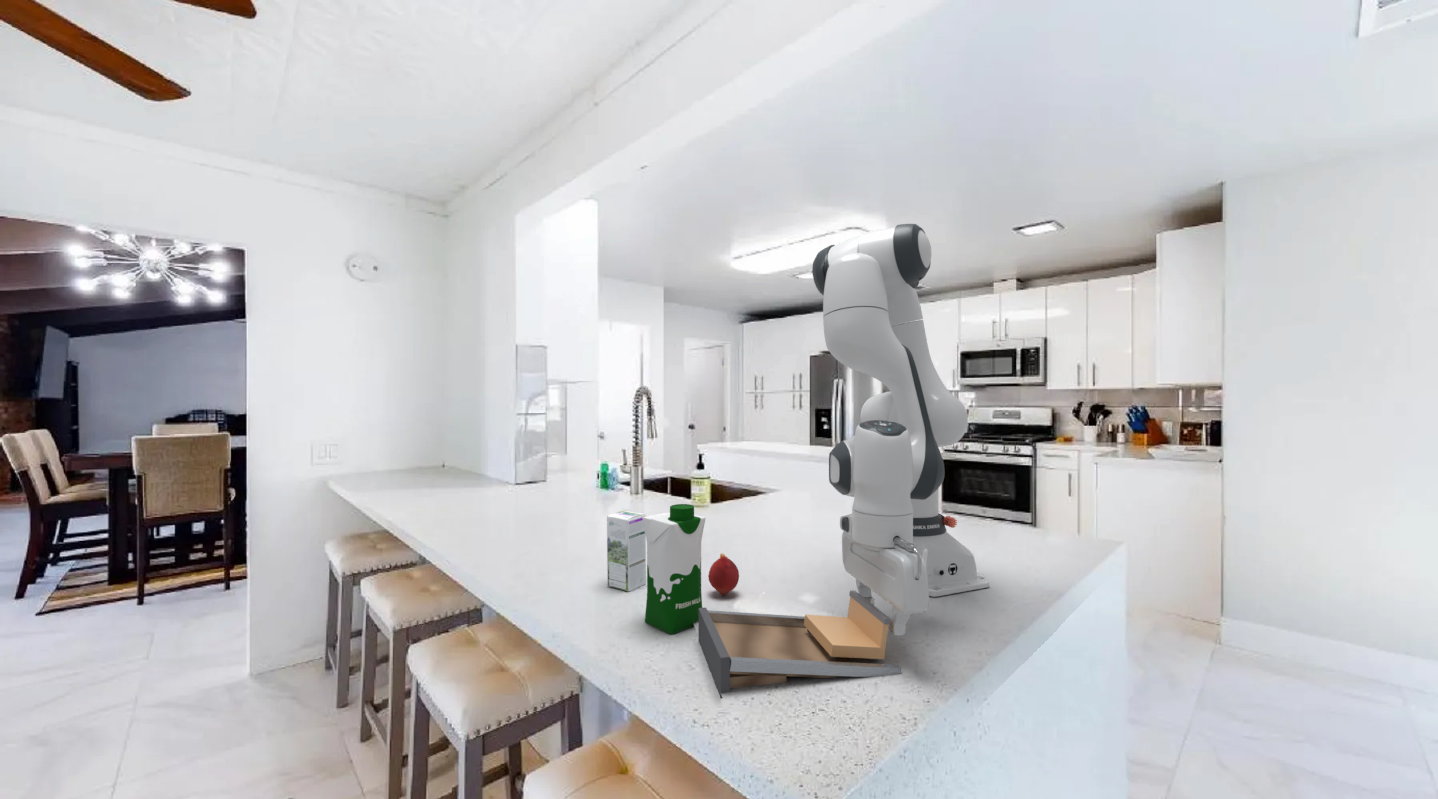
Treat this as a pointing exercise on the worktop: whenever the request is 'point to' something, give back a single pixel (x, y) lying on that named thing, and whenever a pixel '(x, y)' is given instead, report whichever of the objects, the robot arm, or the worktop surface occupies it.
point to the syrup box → (626, 550)
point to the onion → (723, 575)
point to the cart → (852, 631)
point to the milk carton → (673, 568)
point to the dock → (769, 651)
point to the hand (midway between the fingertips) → (881, 620)
